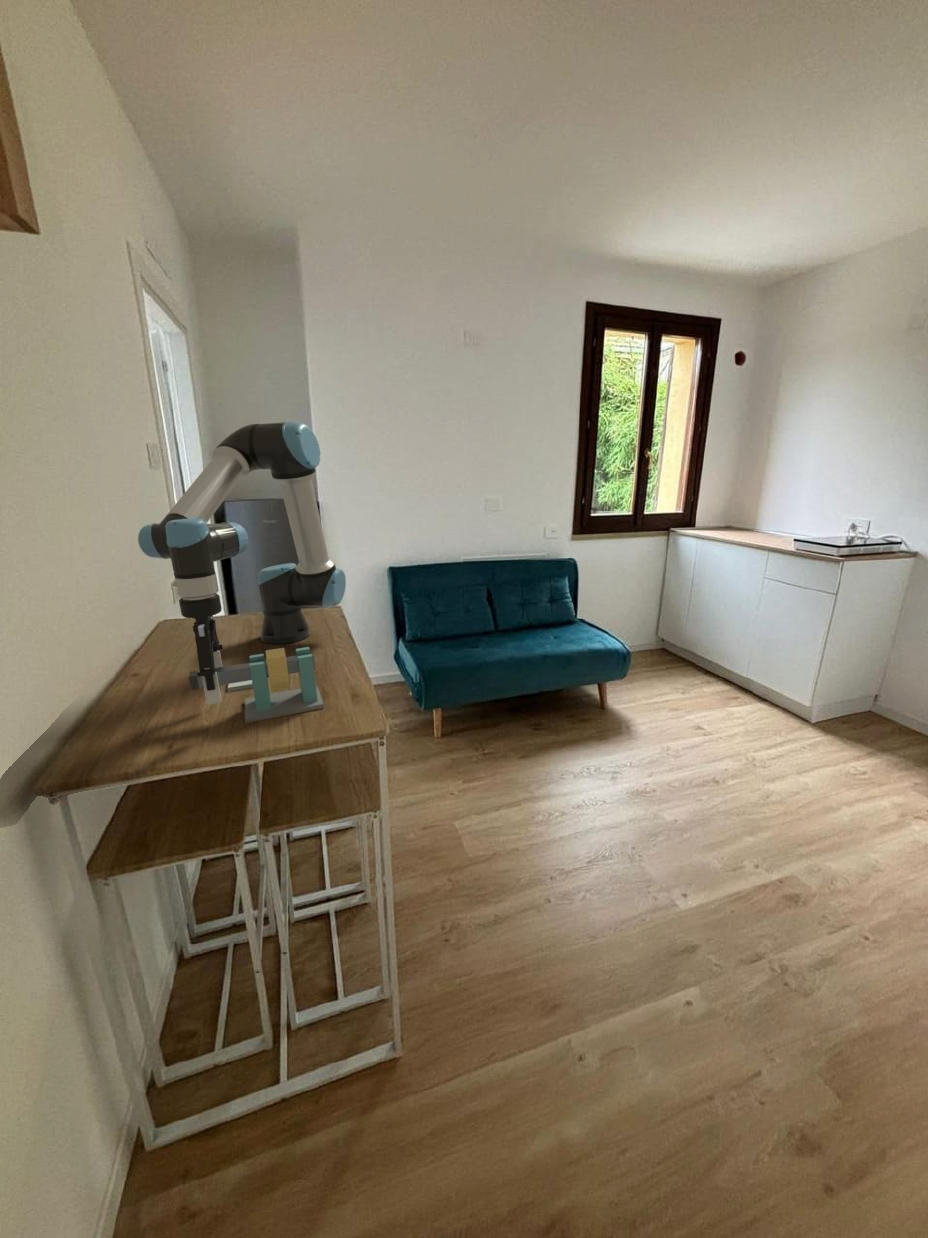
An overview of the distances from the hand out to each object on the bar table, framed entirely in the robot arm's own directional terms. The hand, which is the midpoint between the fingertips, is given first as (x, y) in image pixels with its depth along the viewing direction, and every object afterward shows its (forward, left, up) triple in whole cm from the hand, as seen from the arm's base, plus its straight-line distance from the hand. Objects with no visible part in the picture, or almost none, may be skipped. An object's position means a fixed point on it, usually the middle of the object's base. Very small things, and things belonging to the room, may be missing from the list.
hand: (216, 690), depth 111 cm
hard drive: (-20, +5, -7) cm, 22 cm away
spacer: (0, +13, -1) cm, 13 cm away
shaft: (0, +8, +2) cm, 8 cm away
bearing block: (0, +13, -6) cm, 14 cm away
